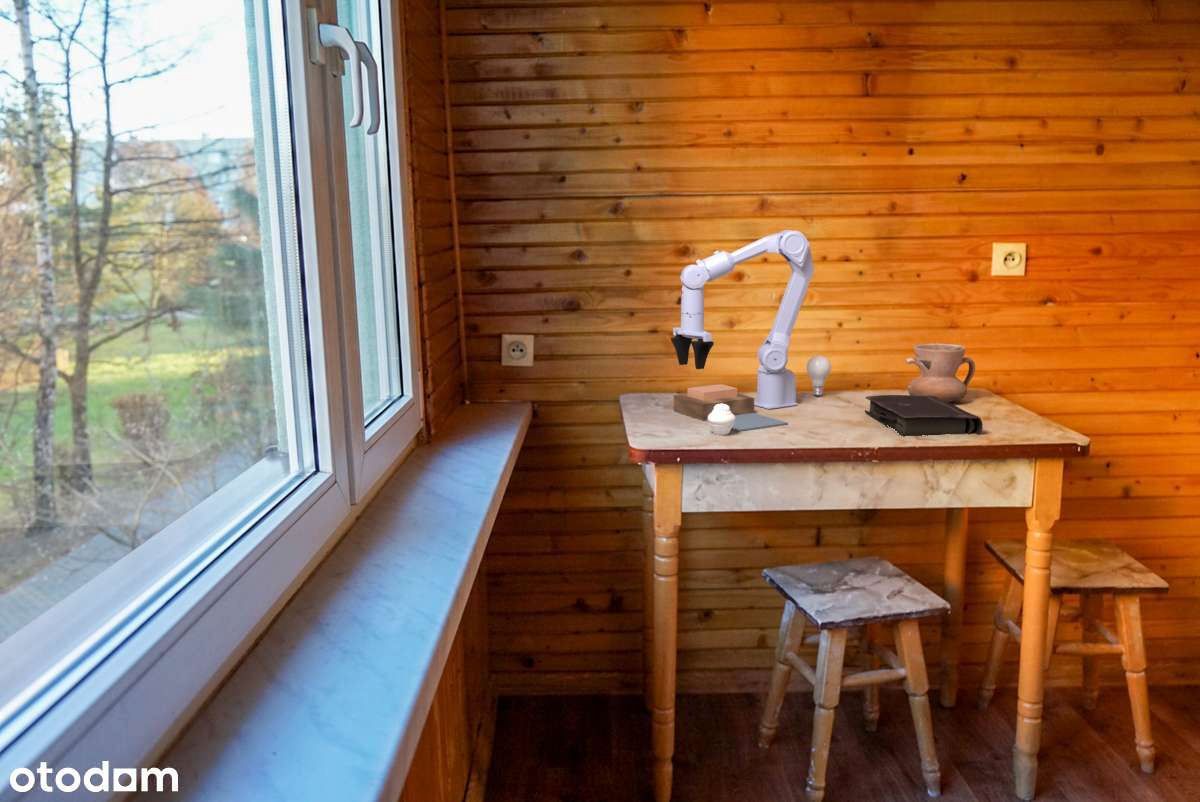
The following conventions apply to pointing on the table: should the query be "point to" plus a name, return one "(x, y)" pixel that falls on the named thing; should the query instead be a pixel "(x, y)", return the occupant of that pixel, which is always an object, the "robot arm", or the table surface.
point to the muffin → (721, 419)
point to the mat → (754, 422)
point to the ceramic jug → (940, 371)
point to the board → (712, 405)
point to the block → (712, 392)
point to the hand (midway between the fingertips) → (691, 366)
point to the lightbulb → (818, 372)
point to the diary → (922, 415)
